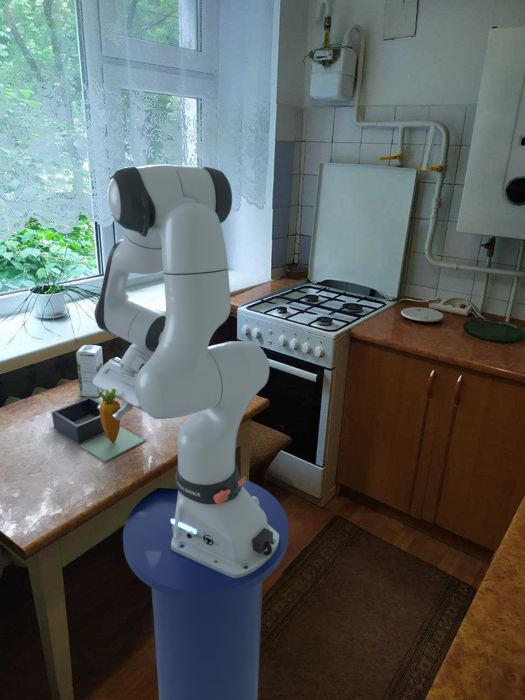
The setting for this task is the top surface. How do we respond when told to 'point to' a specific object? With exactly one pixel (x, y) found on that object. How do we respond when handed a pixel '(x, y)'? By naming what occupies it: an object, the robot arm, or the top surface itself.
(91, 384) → the syrup box
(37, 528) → the top surface
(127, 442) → the mat
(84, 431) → the crate
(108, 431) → the carrot
